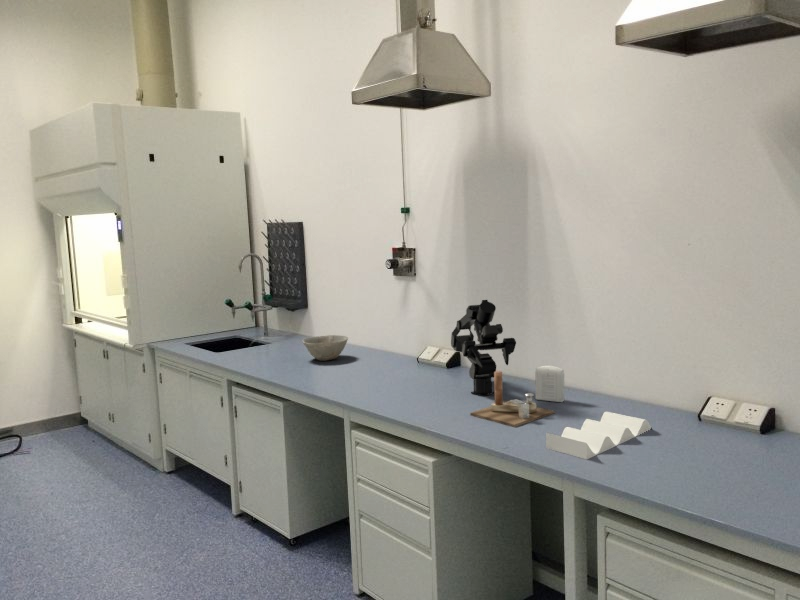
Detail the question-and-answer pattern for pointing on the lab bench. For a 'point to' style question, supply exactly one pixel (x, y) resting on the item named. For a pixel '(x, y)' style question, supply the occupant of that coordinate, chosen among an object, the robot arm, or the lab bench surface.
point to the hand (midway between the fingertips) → (494, 365)
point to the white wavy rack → (597, 435)
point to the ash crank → (499, 397)
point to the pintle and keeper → (523, 405)
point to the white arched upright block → (549, 383)
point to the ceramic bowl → (325, 346)
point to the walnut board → (510, 416)
